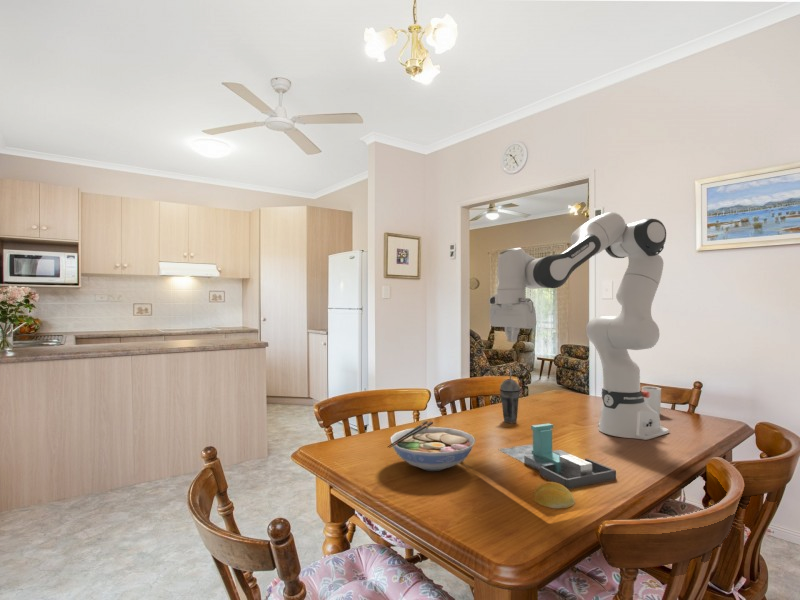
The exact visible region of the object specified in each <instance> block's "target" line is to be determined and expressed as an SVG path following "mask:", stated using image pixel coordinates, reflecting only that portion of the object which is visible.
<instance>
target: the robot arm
mask: <svg viewBox="0 0 800 600" xmlns="http://www.w3.org/2000/svg"><path fill="white" fill-rule="evenodd" d="M666 240H667V230H666V227H665V225H664V223H663V222H662V221H661V220H659V219H657V218H643V219H641V220H638V221H634V222H631V223H630V222H629V223H626V222H625V219H624V217H623V216H621V214H619V213H617V212H613V211H609V212H605V213H603V214H600V215H597V216H595V217H593V218H591V219H589V220H587V221H586V222H584V223H583V224H580V226H579V227H577V228H576V229H575V230H574V231H573V232H572V233H571V235H570V245H571V246H570V247H568V248H567V249H566V250H564V251H562V252H561V253H558V254H550V255H546V256H545V257H539V258H537V257H534V256H532V255H530V254H528V253H527V252H525V250H524V249H523V248H521V247H516V248H510V249H506V250H503V251H501V252H500V253H499V255H498V257H497V258H498V259H497V270H496V271H497V273H496V276H497V280H498V285H497V293H495V294H494V295H493V296H491V297H489V298H488V305H489V316H488V317H489V324H490V326H491V327H494V328H495V327H499V328H504V333H505V335H506V341H507V342H509V343H517V342H518V337H519V334H520V329H528V330H529V329H536V327H537V314H536V312H537V311H536V307H535V306H534V302H533V300H532V298H529V297H527V294H526V293H527V292H526V291H527V289H526V288H528V289H532V290H533V289H534V290H535V289H558V288H560V287H562V286H564V285H565V283H566V282H567V281H568V279H569V278H570V276H571V274H572V273H573V272H574V271H575V270H577V268H579V267H580V266H582V265H583V264H584V263H586V262H587V261H588V260H589V259H591V258H592V257H594V256H596V255H598V254H600V253H601V252H603V251H604V250H605V252H606V253H607V254H608V255H609V256H610V257H612V258H614V259H624V258H628V259H627V260H628V264H627V268H626V269H625V272H624V275H623V277H622V279H621V281H620V285H619V287H618V289H617V292H616V296H615V297H616V300H617V302H618V303H619V305H620V306H621V311H620V314H618V315H601V316H597V317H594V318H592V319H590V320H589V321H588V323H587V324H586V327H585V328H586V329H585V330H586V331H585V333H586V336H587V337H586V338H588V340H589V342H591V343H592V344H593V345H594V347H595V350H596V351H597V355H598V356H599V359H600V363H601V367H602V388H601V399H602V403H601V407H600V408H601V410H600V418H599V422H598V431H600V432H601V433H603V434H605V435H609V436H614V437H618V438H619V437H620V438H625V439H626V438H627V439H637V440H644V441H645V440H651V439H655V438H657V437H660V436H662V435H666V434H669V433H670V430H669V429H668V428H667V427H664V426H663V425H661V418H660V415H659V414H658V413H657V412H656V411H655V410H653V409H652V408H651V407H650V406H648V405H647V404H646V403H645V402H644V398H643V397H646V398H649V396H650V393H649V392H645V391H642V390H641V380H640V379H641V372H640V371H641V369H640V366H639V365H638V364H637V363H636V362H635V361H633V359H632V358H631V356H630V354H629V351H628V350H631V351H641V350H649V349H652V348H654V347H655V346H656V345H657V343H658V342H659V340H660V329H659V326H658V324H657V323H656V322H655V321H654V319H653V317H652V316H653V315H652V305H653V302H654V300H655V299H654V298H655V297H656V293H657V290H658V287H659V286H660V285H659V284H660V283H661V278H662V275H663V270H664V259H663V258H662V256H661V255H660V253H661V252H662V251H663V250H664V248H665V247H664V245H665V243H666Z"/></svg>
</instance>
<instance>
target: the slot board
mask: <svg viewBox="0 0 800 600" xmlns="http://www.w3.org/2000/svg"><path fill="white" fill-rule="evenodd" d="M497 450H498V451H500V452H502V454H503V453H504V454H505V455H508V456H510V457H512V458H514V459H515V460H517V461H519V462H521V463H523V464H525V465H527V466H528V467H530V468H532V469H534V470H536V471H538V472H540V467H541V466H542V467H544V468H546V469H548V470H550V471H552V472H556V471H555V464H553V463H551V462H549V461H547V460H545V459H543V458H541V457H539V456H536V455H534V454H532V450H533V443H532V444H530V443H529V444H524V445H517V446H511V447H506V448H505V447H504V448H498V449H497ZM552 452H553V453H555V454H558V455H560V456H563V455H569V454H570V453H569V452H566V451H564V450H562V449H556V450H552ZM572 455H573V454H572ZM573 456H575V455H573ZM577 457H578V456H577ZM578 458H580V459H582V458H581V457H578Z"/></svg>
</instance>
